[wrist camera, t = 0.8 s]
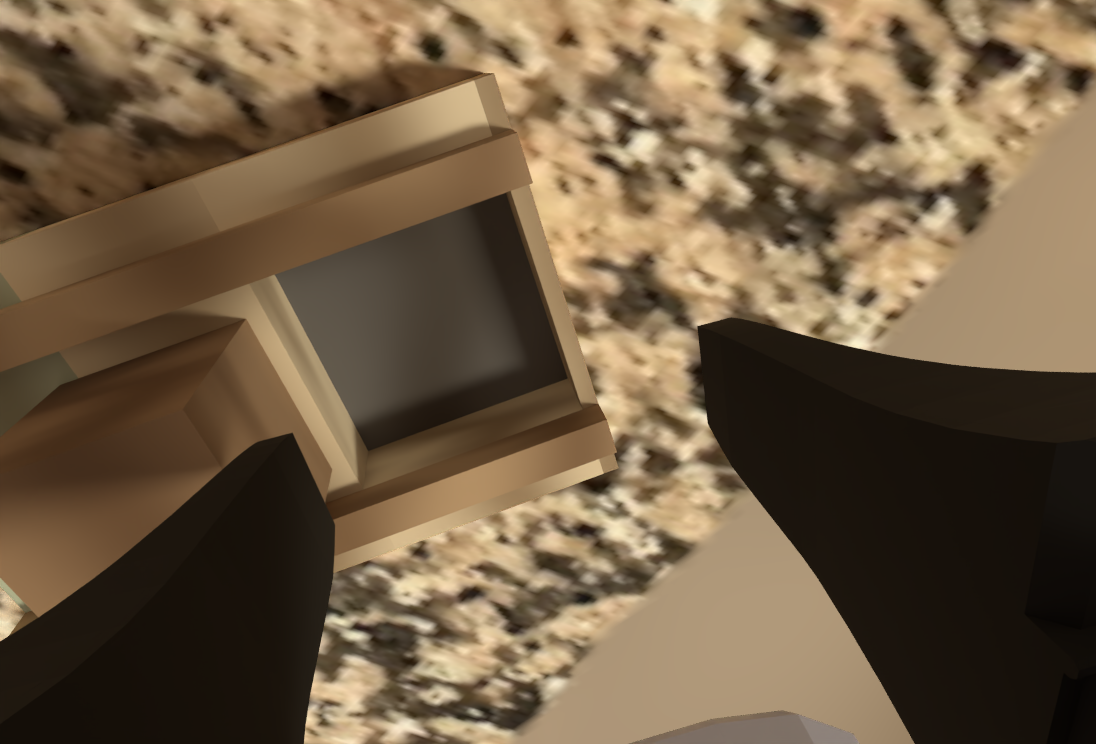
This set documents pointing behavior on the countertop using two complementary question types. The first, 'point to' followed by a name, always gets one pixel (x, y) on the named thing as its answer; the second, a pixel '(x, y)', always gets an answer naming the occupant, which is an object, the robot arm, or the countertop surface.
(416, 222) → the wooden tray
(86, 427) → the walnut block
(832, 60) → the countertop surface
